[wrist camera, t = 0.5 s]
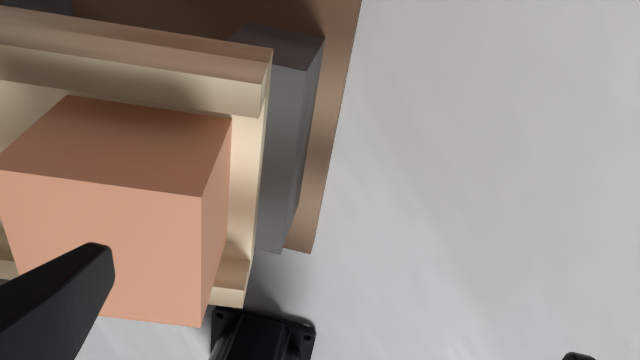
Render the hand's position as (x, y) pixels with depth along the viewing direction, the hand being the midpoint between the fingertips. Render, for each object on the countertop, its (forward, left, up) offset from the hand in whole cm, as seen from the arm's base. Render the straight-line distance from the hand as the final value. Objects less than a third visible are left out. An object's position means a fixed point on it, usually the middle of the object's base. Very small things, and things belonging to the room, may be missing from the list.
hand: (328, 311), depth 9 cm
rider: (-2, +7, -6) cm, 9 cm away
